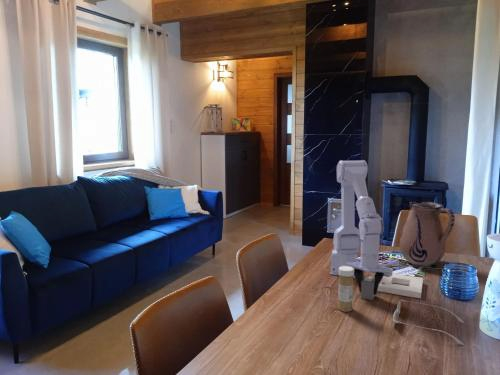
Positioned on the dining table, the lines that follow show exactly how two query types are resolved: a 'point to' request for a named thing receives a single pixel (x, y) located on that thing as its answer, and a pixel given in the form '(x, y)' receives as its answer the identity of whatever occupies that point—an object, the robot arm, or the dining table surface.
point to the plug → (367, 288)
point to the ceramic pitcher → (425, 234)
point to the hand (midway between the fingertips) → (368, 292)
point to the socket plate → (411, 290)
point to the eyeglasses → (423, 327)
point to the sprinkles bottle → (345, 288)
